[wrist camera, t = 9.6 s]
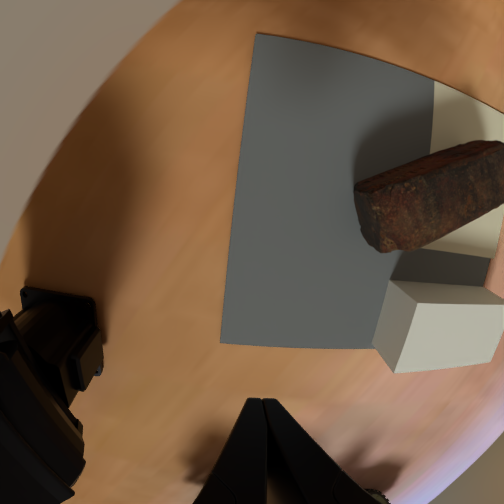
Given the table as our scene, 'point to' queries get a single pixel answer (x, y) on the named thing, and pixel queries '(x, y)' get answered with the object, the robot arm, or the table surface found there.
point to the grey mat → (337, 194)
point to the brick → (430, 196)
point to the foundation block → (437, 326)
